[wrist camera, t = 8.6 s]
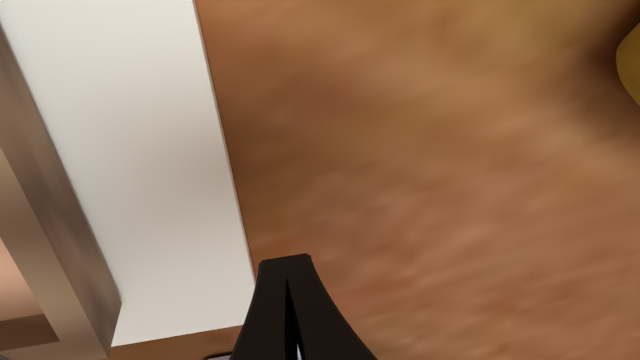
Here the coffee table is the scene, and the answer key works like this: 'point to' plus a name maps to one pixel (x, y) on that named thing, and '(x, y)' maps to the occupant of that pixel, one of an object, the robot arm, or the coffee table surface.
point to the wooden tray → (45, 244)
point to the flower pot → (630, 63)
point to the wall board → (140, 154)
